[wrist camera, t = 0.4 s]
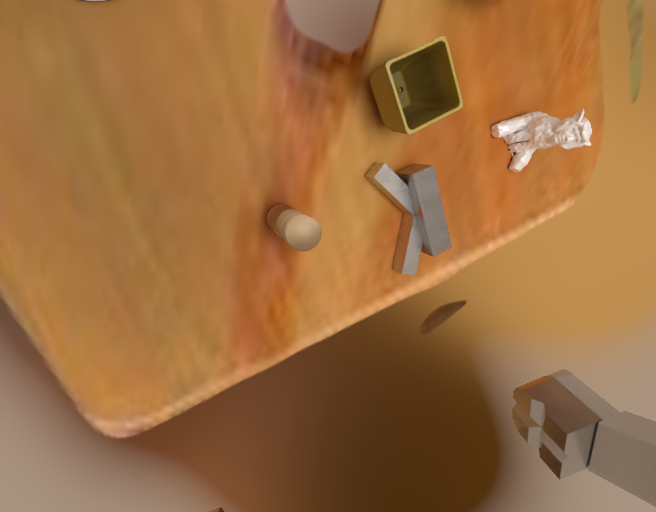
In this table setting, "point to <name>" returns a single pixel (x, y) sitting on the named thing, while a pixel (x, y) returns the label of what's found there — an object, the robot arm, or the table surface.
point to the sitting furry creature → (541, 134)
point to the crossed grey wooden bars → (414, 212)
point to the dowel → (294, 227)
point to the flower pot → (417, 87)
